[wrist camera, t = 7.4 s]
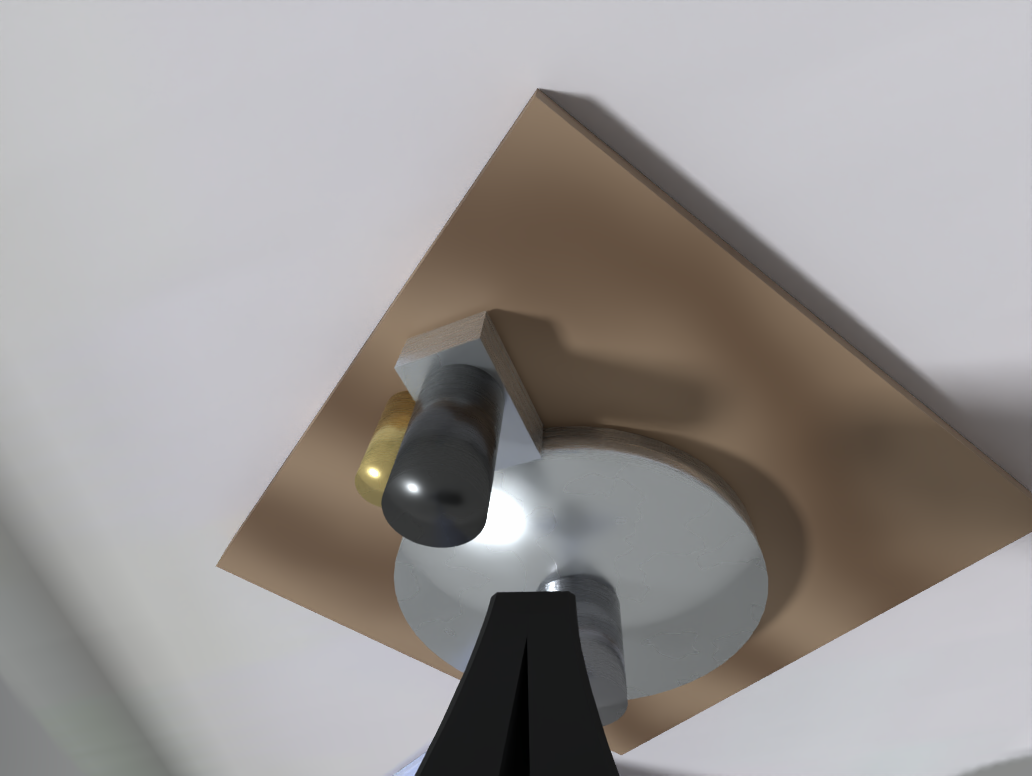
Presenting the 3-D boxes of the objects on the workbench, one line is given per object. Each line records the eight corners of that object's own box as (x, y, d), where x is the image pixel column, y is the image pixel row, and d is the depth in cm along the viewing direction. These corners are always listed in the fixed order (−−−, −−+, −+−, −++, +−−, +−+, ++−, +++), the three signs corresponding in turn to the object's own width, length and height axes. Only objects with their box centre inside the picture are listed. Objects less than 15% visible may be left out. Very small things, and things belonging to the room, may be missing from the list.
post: (582, 643, 21) (584, 739, 18) (515, 608, 20) (507, 703, 18) (638, 603, 20) (648, 701, 17) (569, 564, 19) (569, 661, 16)
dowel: (421, 442, 19) (396, 517, 16) (376, 416, 19) (343, 489, 16) (448, 409, 18) (427, 482, 16) (402, 381, 18) (373, 452, 15)
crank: (786, 634, 23) (841, 800, 18) (490, 686, 26) (473, 838, 21) (666, 244, 15) (709, 364, 10) (265, 390, 18) (163, 529, 14)
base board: (619, 728, 30) (621, 755, 29) (230, 542, 24) (216, 566, 23) (1030, 492, 20) (1054, 519, 19) (537, 88, 14) (535, 96, 13)
